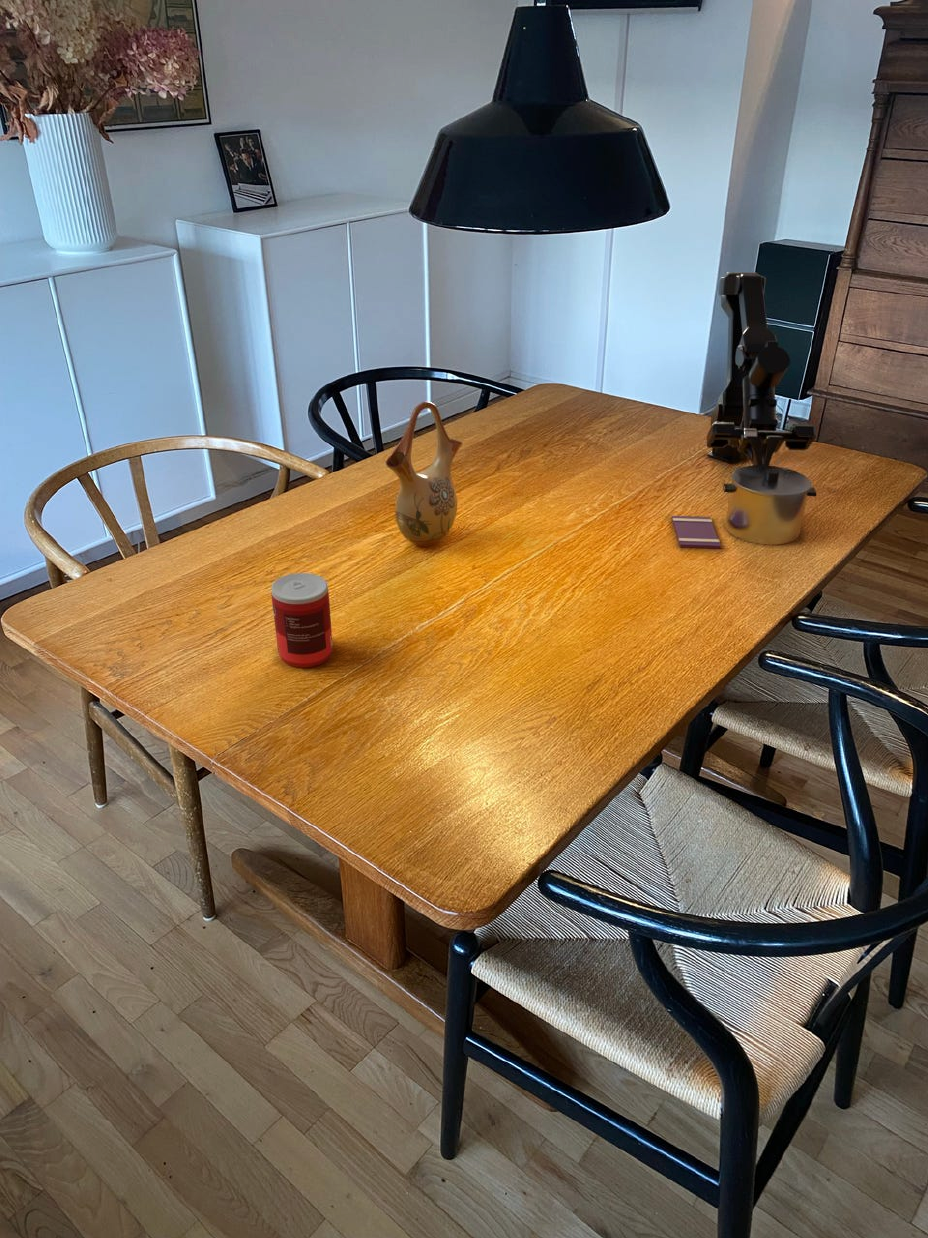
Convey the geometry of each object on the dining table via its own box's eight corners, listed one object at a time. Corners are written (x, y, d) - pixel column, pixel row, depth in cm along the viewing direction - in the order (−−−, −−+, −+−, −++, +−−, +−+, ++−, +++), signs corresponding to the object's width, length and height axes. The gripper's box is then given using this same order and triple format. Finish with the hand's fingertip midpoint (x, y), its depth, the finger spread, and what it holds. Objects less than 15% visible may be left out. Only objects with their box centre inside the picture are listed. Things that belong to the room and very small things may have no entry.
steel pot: (712, 511, 174) (721, 454, 169) (798, 515, 173) (810, 458, 167) (722, 543, 163) (732, 483, 157) (814, 547, 161) (827, 487, 156)
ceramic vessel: (410, 564, 155) (406, 419, 142) (375, 547, 161) (367, 406, 148) (477, 534, 165) (479, 396, 153) (442, 519, 171) (440, 385, 158)
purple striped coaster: (671, 518, 172) (671, 515, 171) (709, 519, 171) (710, 516, 171) (679, 547, 161) (680, 543, 161) (720, 548, 161) (721, 545, 161)
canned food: (307, 633, 136) (300, 566, 131) (345, 652, 132) (340, 584, 126) (266, 655, 131) (258, 587, 126) (305, 675, 127) (297, 605, 121)
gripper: (796, 422, 181) (800, 496, 177) (700, 420, 182) (701, 493, 178) (815, 394, 171) (819, 473, 167) (712, 392, 172) (714, 470, 168)
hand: (761, 478), depth 170 cm, fingers closed, pressing on steel pot
